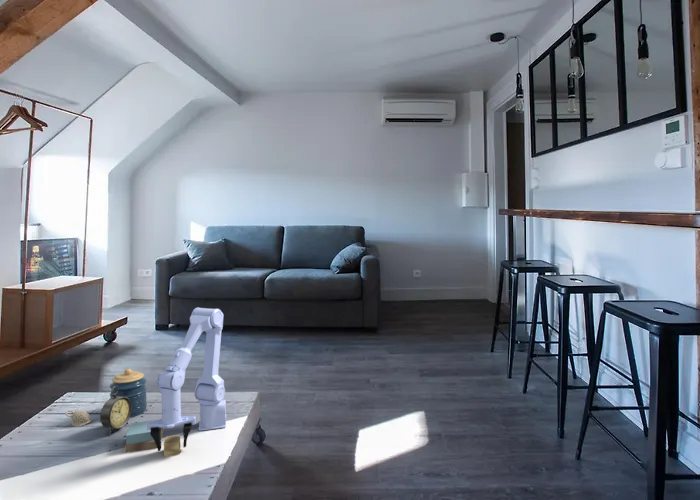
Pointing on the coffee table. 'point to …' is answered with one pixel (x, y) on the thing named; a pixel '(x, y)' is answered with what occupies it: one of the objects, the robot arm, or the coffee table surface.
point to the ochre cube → (172, 445)
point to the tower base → (142, 445)
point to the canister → (131, 389)
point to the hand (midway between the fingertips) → (172, 447)
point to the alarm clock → (116, 412)
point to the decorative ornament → (79, 418)
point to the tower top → (138, 433)
